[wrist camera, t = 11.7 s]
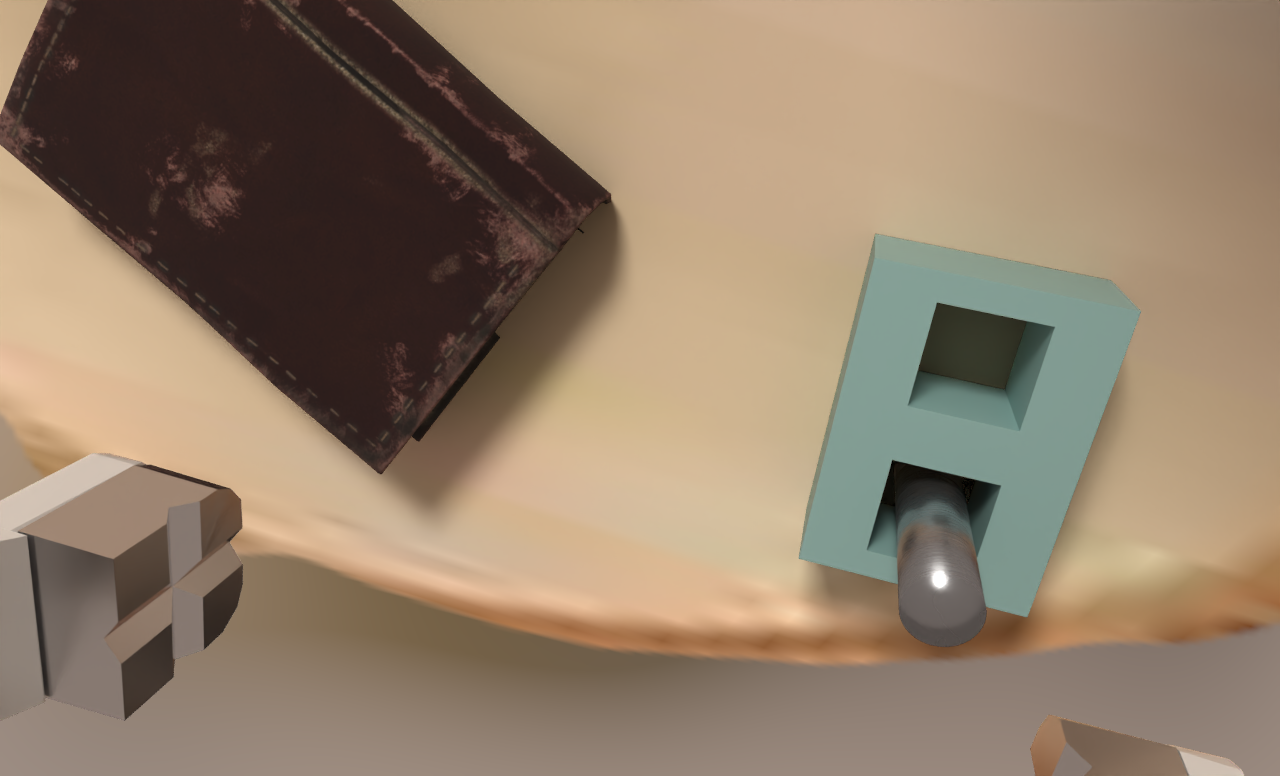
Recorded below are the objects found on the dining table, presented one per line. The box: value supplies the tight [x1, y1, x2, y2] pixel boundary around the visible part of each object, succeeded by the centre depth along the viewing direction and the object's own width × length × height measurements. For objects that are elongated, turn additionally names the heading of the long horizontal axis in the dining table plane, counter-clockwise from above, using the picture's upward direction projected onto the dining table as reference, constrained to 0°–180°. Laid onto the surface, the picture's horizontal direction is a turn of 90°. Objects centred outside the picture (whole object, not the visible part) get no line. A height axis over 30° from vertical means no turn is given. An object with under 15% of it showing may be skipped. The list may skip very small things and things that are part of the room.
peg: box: [894, 461, 987, 647], centre depth 39 cm, size 3×3×12 cm
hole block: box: [799, 234, 1141, 617], centre depth 41 cm, size 14×10×5 cm
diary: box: [0, 0, 611, 474], centre depth 45 cm, size 19×25×5 cm
